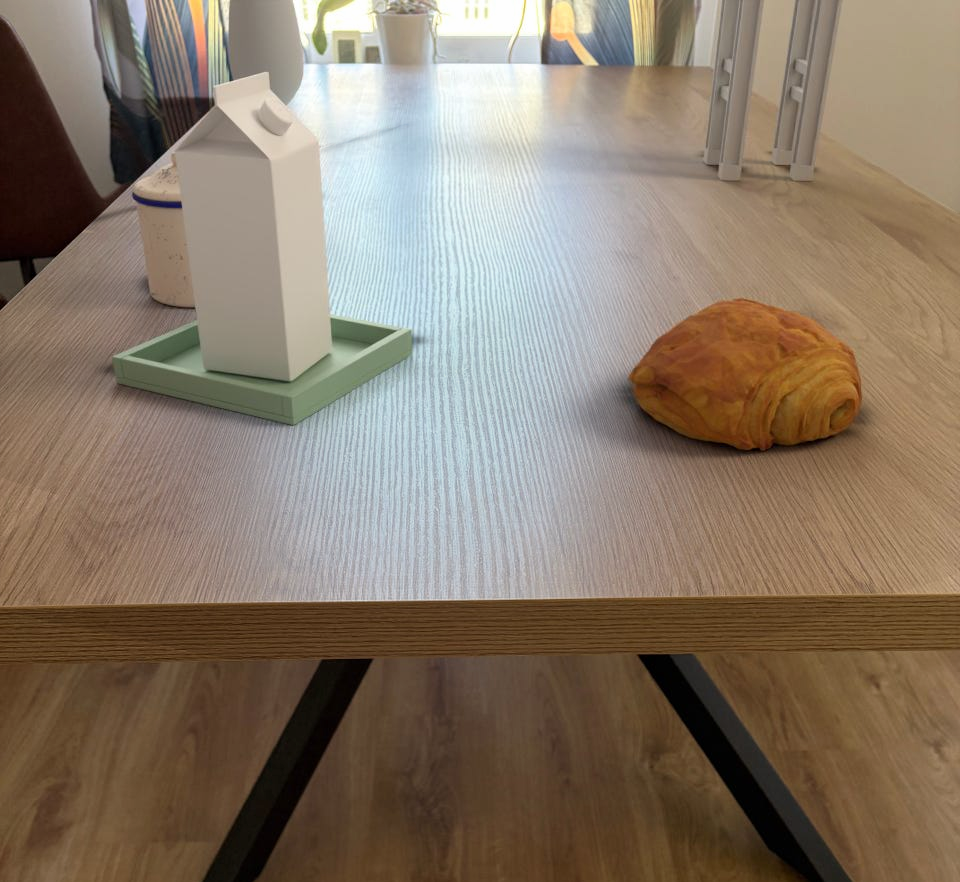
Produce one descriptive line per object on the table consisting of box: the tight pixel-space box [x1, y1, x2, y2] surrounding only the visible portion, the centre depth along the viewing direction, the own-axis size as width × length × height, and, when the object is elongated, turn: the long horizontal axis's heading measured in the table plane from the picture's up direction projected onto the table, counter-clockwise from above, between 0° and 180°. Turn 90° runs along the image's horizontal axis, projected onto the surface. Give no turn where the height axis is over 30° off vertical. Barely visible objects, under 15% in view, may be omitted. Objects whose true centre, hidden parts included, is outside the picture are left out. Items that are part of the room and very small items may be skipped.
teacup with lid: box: [131, 150, 195, 308], centre depth 96 cm, size 12×9×12 cm
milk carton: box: [174, 72, 332, 381], centre depth 78 cm, size 7×7×19 cm
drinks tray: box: [111, 313, 413, 426], centre depth 83 cm, size 16×16×2 cm
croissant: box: [627, 297, 863, 452], centre depth 76 cm, size 14×16×8 cm
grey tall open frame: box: [702, 0, 843, 182], centre depth 133 cm, size 16×16×35 cm
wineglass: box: [227, 0, 305, 107], centre depth 119 cm, size 8×8×21 cm
